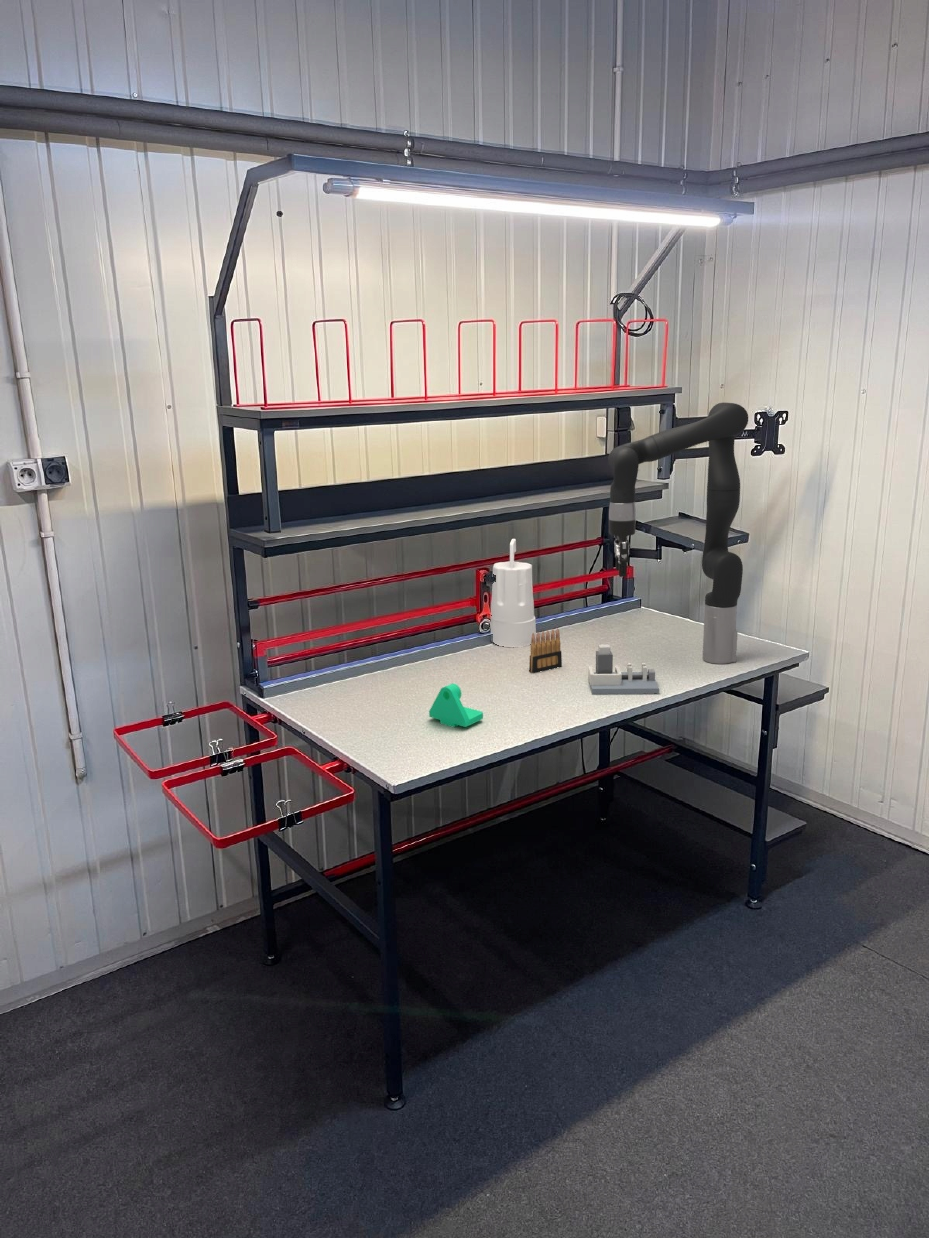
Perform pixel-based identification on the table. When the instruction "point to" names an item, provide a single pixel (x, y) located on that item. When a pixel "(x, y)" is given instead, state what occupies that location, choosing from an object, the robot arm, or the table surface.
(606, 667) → the block
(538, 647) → the ammunition clip
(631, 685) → the board
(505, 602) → the white tapered cylinder
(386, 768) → the table surface
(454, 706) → the camera mount
